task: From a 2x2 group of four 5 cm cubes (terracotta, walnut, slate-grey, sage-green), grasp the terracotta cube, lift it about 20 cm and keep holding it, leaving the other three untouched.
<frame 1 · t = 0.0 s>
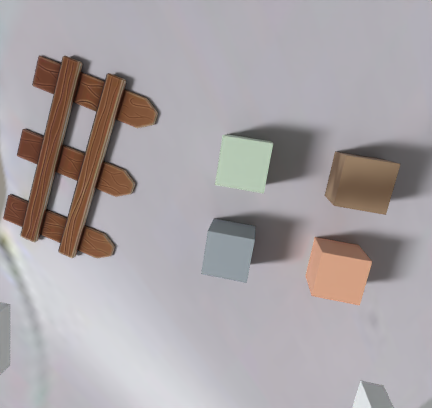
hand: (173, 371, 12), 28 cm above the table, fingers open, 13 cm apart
terracotta block: (331, 260, 40), on the table
walnut block: (352, 177, 37), on the table
decorative fence: (81, 164, 42), on the table
sage block: (245, 159, 38), on the table
slate block: (231, 241, 41), on the table
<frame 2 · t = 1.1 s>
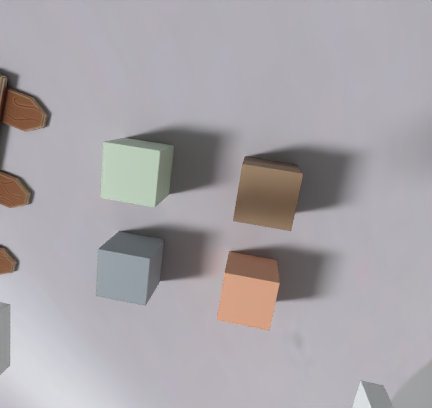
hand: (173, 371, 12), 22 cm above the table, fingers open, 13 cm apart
terracotta block: (248, 276, 36), on the table
walnut block: (265, 185, 33), on the table
sage block: (147, 166, 34), on the table
slate block: (140, 256, 37), on the table
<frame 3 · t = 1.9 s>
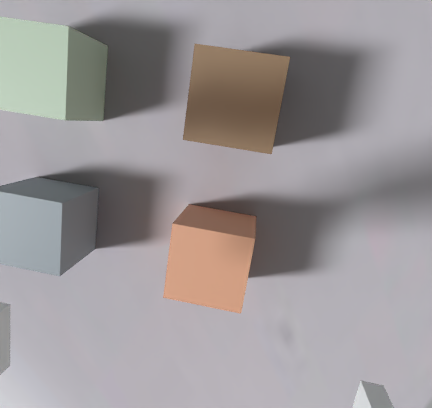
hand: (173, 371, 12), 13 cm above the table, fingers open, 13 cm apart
terracotta block: (217, 241, 25), on the table
walnut block: (239, 104, 23), on the table
sage block: (72, 79, 24), on the table
slate block: (67, 213, 26), on the table
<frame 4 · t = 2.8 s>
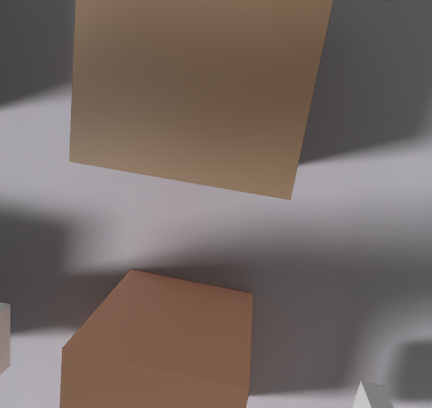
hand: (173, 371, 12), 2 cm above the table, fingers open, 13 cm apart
terracotta block: (183, 333, 14), on the table
walnut block: (219, 84, 12), on the table
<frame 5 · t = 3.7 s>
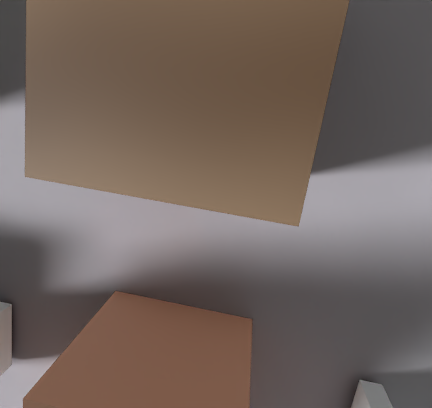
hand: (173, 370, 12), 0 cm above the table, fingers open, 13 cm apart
terracotta block: (174, 362, 13), on the table
walnut block: (214, 84, 10), on the table
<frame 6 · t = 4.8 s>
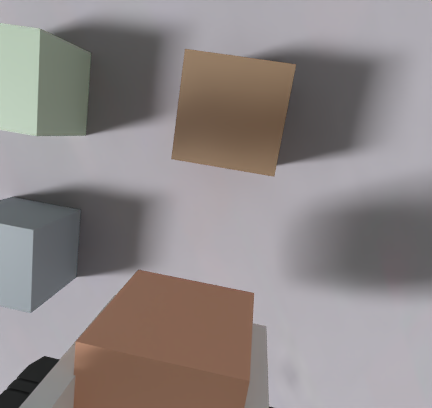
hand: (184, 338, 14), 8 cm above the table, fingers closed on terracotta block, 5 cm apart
terracotta block: (187, 332, 15), point 8 cm above the table, touching gripper
walnut block: (237, 118, 20), on the table
sage block: (52, 89, 21), on the table
slate block: (45, 237, 24), on the table
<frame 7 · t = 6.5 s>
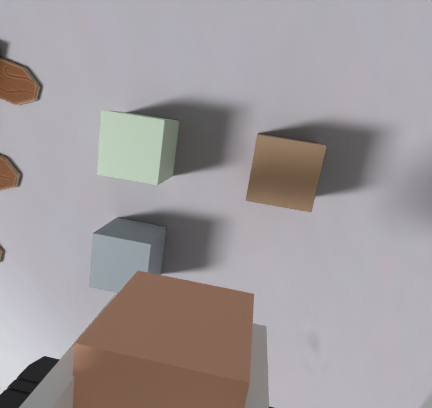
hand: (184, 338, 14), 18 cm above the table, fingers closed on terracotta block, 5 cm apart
terracotta block: (187, 333, 15), point 17 cm above the table, touching gripper
walnut block: (280, 166, 30), on the table
sage block: (150, 144, 31), on the table
slate block: (139, 245, 33), on the table
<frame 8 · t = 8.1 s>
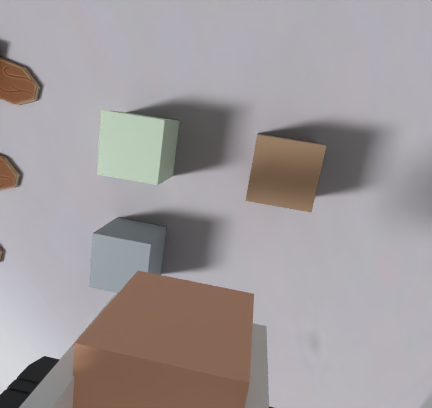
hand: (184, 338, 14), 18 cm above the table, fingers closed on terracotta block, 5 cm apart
terracotta block: (187, 333, 15), point 17 cm above the table, touching gripper
walnut block: (280, 166, 30), on the table
sage block: (150, 144, 31), on the table
slate block: (139, 245, 33), on the table
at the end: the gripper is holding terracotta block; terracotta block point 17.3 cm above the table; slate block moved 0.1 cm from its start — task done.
